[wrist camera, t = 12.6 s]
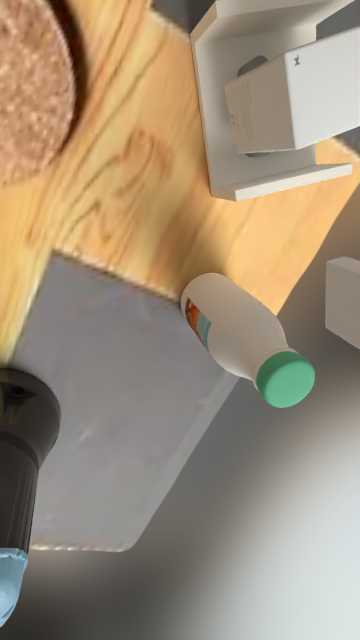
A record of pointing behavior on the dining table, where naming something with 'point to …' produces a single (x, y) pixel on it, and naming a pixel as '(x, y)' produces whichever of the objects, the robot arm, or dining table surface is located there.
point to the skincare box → (298, 96)
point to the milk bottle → (246, 338)
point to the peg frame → (238, 59)
